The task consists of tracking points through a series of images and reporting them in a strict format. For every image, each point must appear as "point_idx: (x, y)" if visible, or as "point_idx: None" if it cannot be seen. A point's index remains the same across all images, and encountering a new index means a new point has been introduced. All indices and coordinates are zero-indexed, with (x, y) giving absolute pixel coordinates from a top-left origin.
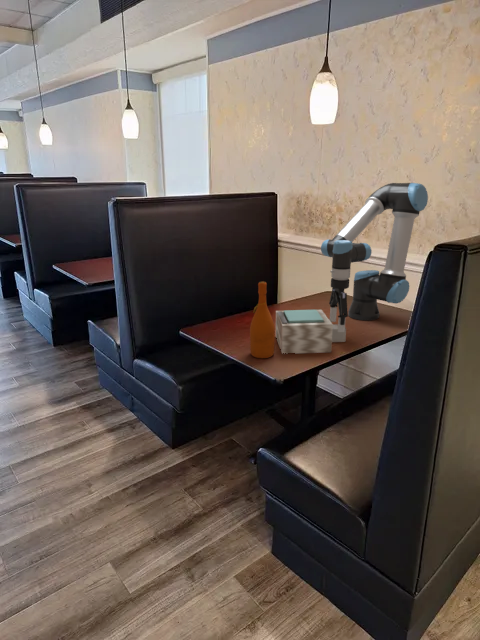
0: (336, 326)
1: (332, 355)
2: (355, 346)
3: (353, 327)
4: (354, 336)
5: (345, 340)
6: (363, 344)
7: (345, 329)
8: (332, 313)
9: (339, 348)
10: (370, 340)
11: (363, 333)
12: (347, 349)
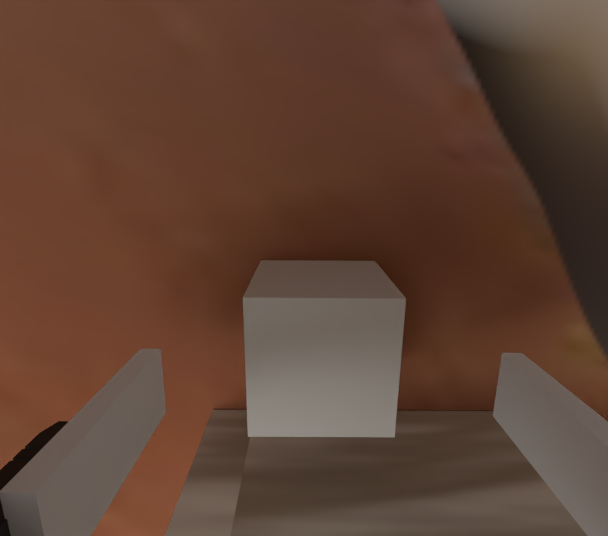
0: (316, 379)
1: (605, 415)
2: (489, 211)
3: (6, 70)
4: (261, 144)
5: (376, 263)
6: (462, 126)
7: (402, 303)
8: (113, 469)
9: (500, 341)
10: (379, 19)
11: (183, 22)
12: (533, 291)
